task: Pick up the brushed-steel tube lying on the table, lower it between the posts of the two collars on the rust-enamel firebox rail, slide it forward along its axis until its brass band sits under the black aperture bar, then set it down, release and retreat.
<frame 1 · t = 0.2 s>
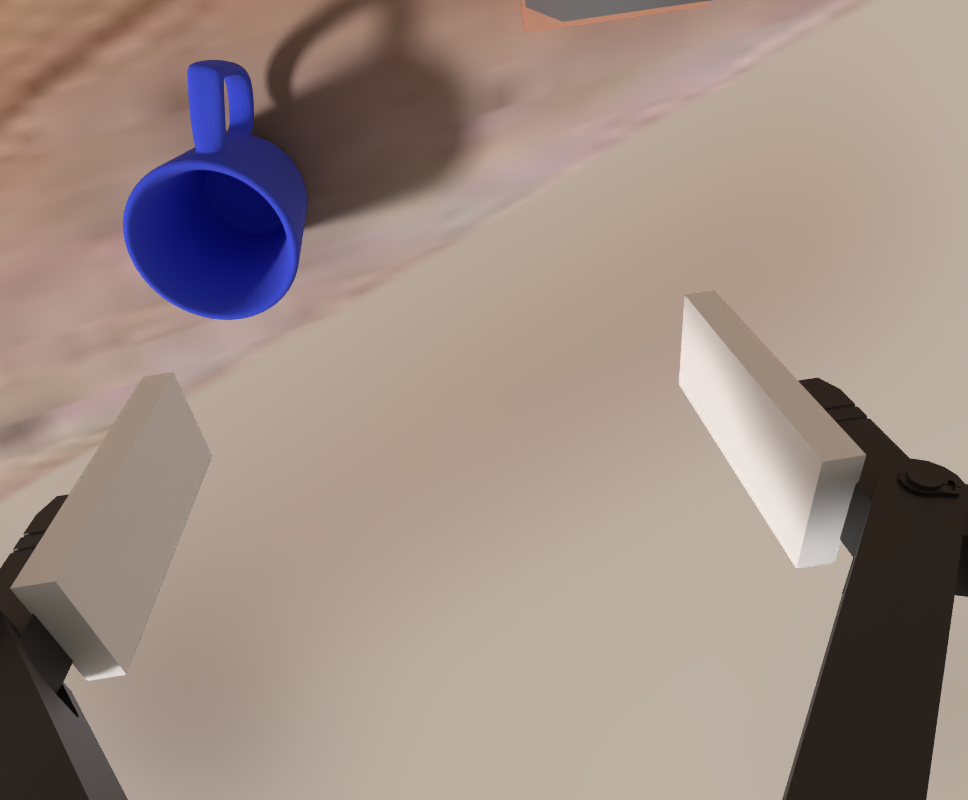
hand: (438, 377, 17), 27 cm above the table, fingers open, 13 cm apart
mug: (251, 154, 39), on the table
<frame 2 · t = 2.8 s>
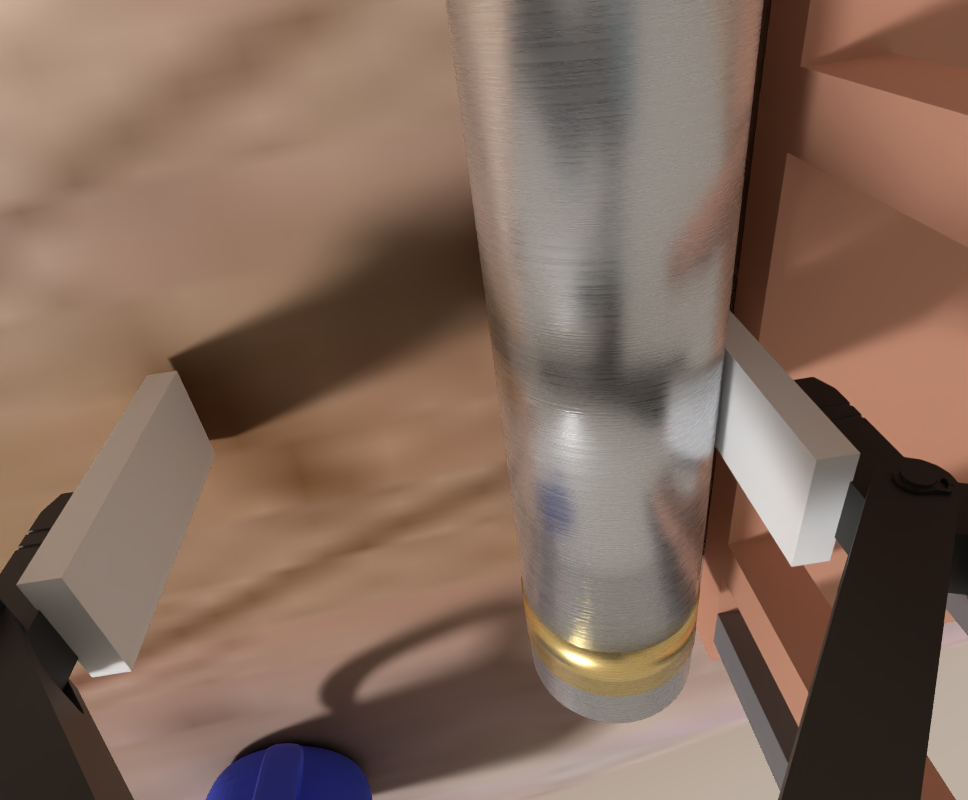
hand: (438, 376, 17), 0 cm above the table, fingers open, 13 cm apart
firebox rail: (906, 324, 18), on the table
mug: (294, 747, 28), on the table
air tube: (500, 410, 15), point 2 cm above the table, tilted 89°, touching gripper
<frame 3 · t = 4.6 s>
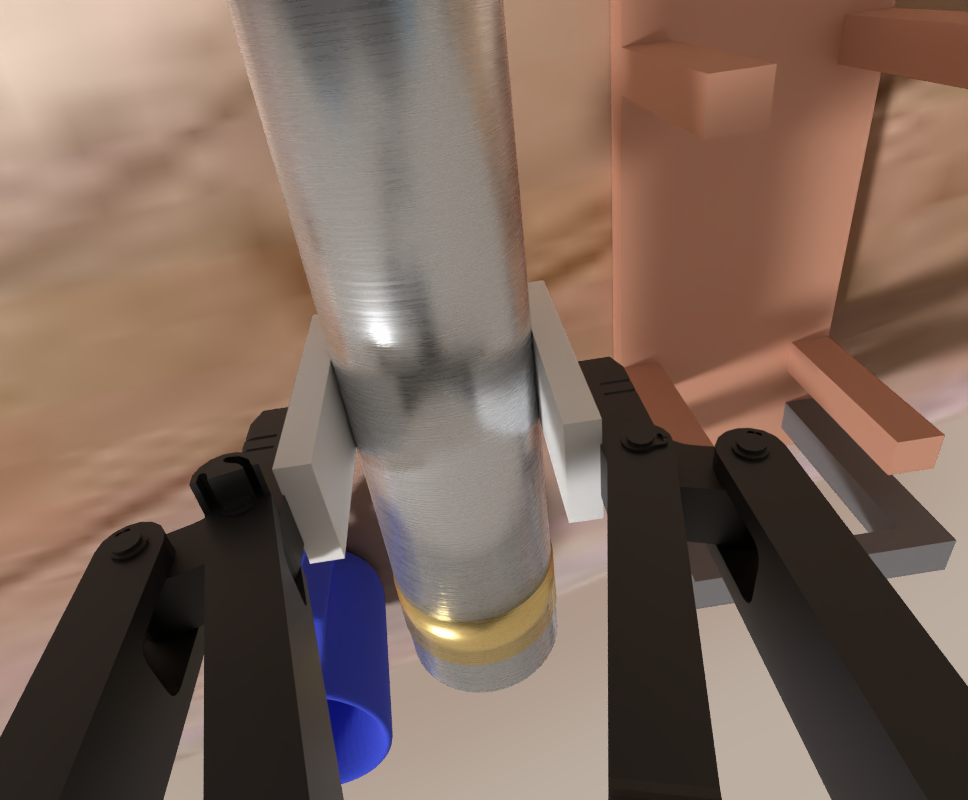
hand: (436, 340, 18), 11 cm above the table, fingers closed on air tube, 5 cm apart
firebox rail: (723, 214, 28), on the table
mug: (327, 555, 38), on the table
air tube: (409, 345, 19), point 10 cm above the table, tilted 19°, touching gripper
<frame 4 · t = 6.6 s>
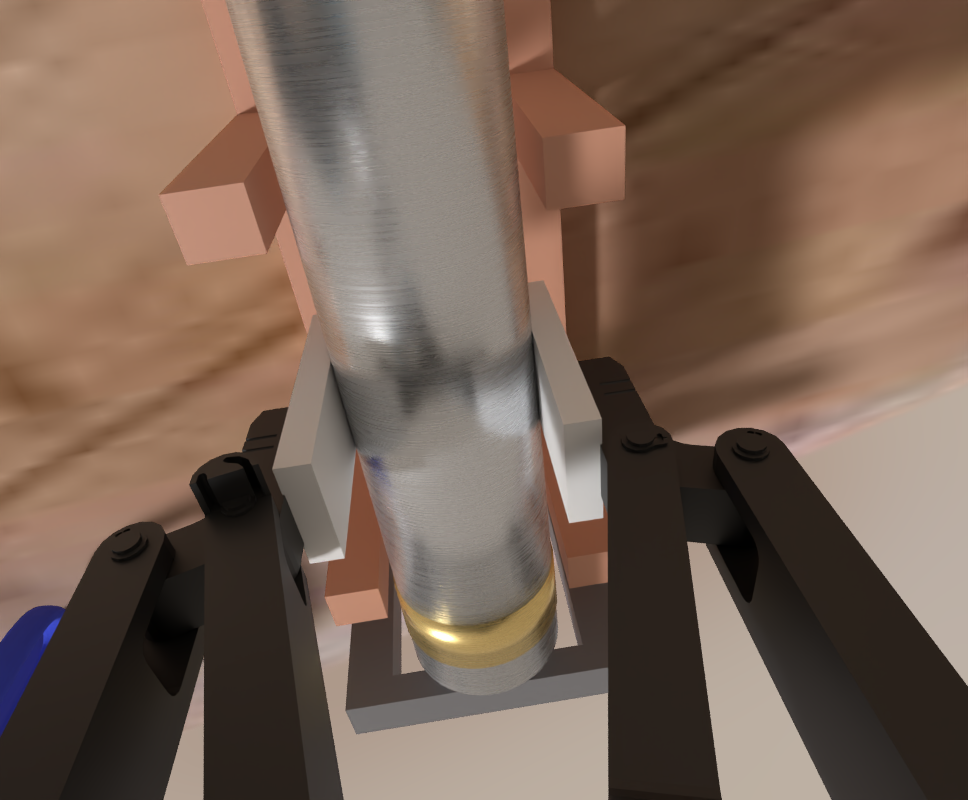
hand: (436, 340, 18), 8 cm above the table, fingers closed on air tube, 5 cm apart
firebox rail: (432, 283, 26), on the table
mug: (85, 624, 35), on the table
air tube: (410, 348, 19), point 7 cm above the table, tilted 18°, touching gripper
when the fingers open (3 cm above the table, at t = 9.1 s): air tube stays where it is, resting on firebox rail.
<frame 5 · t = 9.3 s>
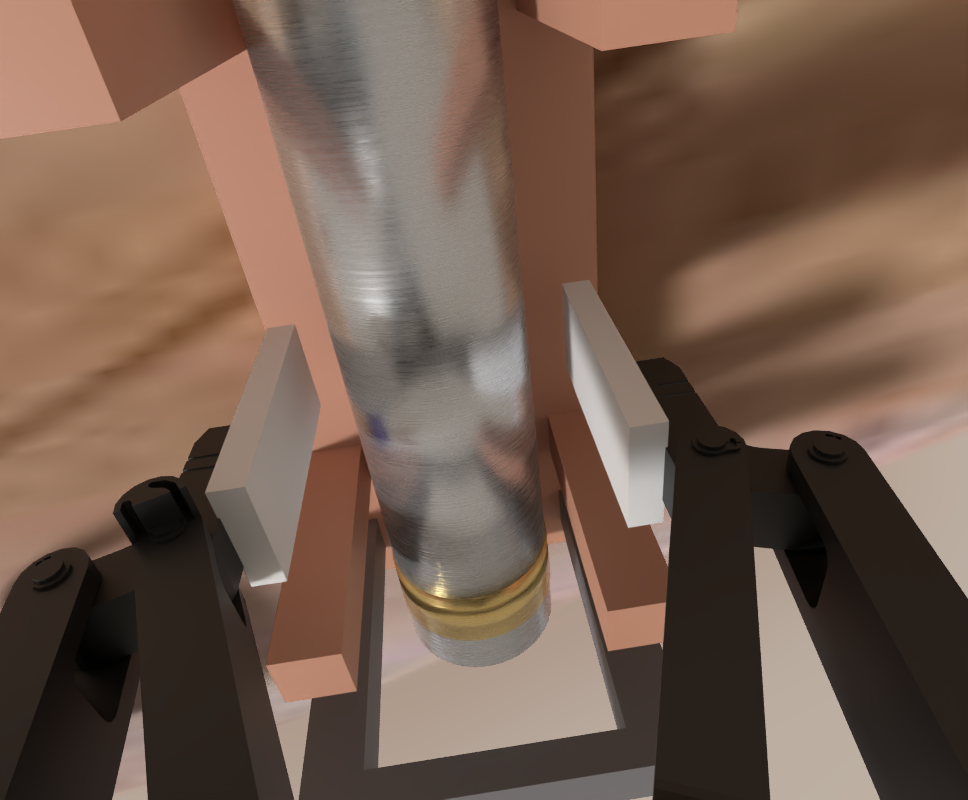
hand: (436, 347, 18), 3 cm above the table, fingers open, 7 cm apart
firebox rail: (422, 239, 20), on the table
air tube: (409, 332, 19), point 2 cm above the table, tilted 18°, touching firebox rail
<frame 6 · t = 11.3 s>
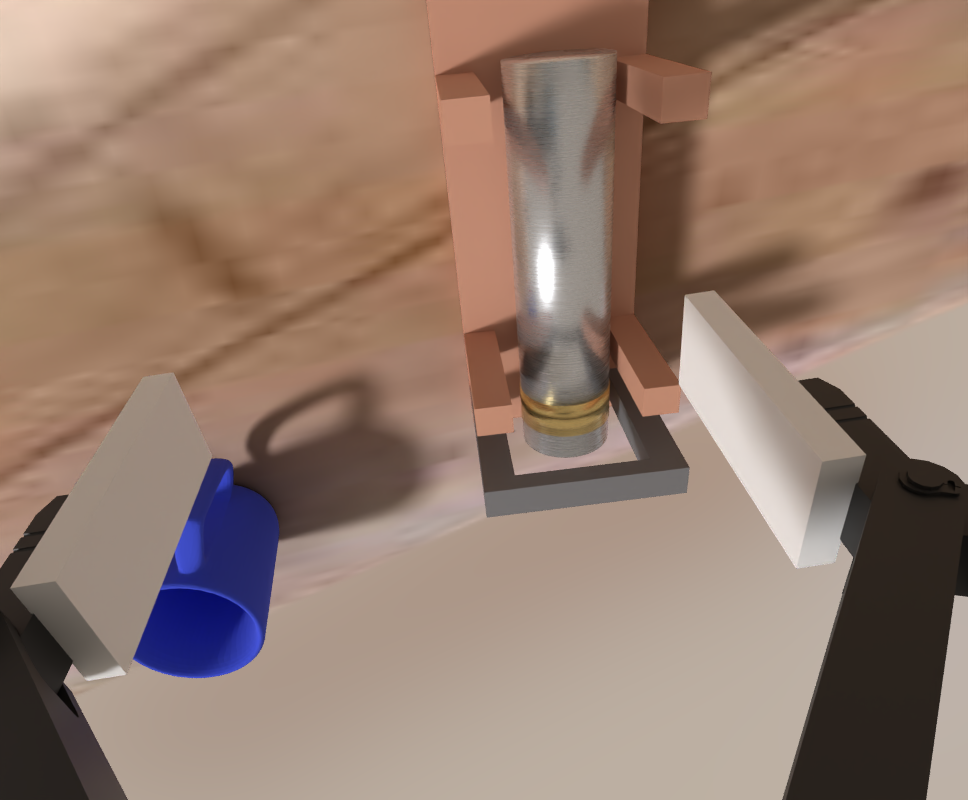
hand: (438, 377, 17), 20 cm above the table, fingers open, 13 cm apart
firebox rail: (541, 210, 35), on the table
mug: (231, 491, 44), on the table
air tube: (533, 261, 35), point 2 cm above the table, tilted 27°, touching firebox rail
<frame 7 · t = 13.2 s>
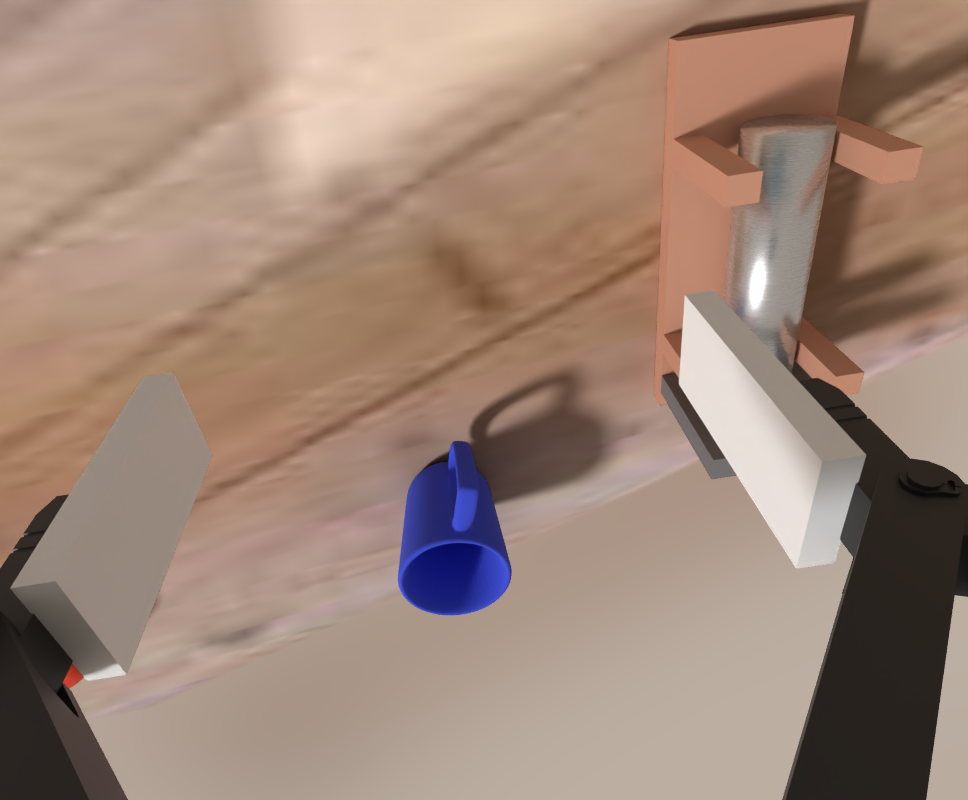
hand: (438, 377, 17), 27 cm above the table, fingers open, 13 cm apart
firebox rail: (732, 234, 44), on the table
mug: (450, 467, 54), on the table
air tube: (730, 277, 44), point 2 cm above the table, tilted 35°, touching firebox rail
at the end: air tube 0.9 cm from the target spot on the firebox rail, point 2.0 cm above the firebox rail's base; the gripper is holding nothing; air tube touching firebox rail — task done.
